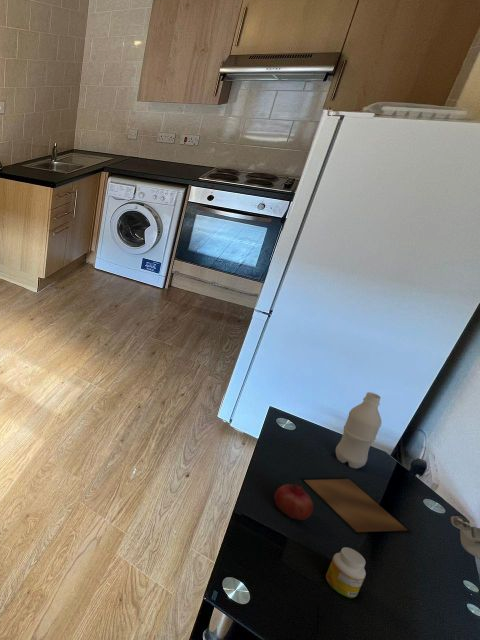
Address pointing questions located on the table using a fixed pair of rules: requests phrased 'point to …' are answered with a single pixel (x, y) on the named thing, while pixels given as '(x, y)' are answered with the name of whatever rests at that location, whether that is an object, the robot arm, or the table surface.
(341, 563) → the supplement bottle
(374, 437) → the water bottle
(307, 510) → the fruit
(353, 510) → the cork mat
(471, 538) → the robot arm
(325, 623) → the table surface
